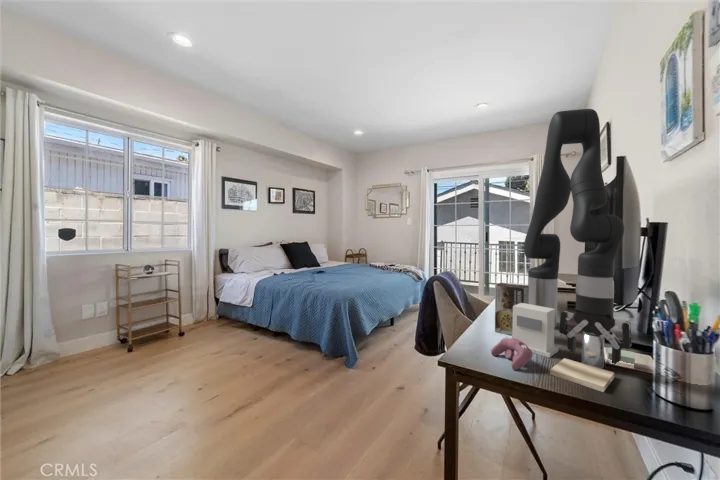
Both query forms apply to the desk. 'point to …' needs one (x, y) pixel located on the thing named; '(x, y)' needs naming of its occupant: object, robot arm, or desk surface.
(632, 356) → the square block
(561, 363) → the birch pad
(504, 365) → the desk surface
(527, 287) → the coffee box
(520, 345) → the video game controller
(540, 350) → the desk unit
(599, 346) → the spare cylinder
